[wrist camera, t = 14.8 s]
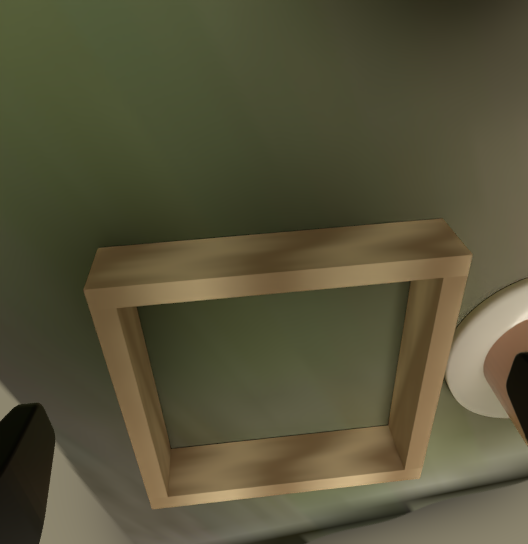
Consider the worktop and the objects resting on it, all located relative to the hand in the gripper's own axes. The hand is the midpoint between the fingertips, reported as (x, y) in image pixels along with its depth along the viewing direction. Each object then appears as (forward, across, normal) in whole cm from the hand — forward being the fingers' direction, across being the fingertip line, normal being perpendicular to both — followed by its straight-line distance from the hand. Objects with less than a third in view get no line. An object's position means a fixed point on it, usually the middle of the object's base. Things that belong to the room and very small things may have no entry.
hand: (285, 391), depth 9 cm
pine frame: (+12, -1, +11) cm, 16 cm away
